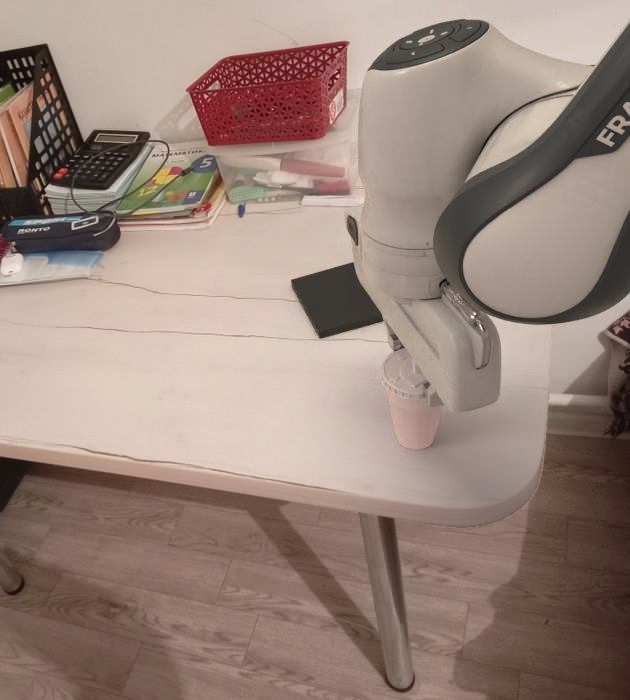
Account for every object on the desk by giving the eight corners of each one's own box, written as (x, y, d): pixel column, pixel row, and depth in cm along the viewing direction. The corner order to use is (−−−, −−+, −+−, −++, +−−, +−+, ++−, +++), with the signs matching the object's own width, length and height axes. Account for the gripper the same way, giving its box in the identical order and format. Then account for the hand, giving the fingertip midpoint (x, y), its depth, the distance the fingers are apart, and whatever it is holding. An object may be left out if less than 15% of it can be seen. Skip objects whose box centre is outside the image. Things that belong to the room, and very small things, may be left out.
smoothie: (378, 455, 63) (374, 356, 54) (385, 409, 67) (383, 309, 58) (447, 465, 60) (455, 362, 51) (450, 415, 64) (459, 312, 55)
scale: (394, 255, 86) (394, 236, 84) (436, 306, 77) (437, 286, 75) (290, 284, 87) (288, 267, 85) (319, 338, 78) (317, 320, 76)
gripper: (538, 314, 41) (512, 446, 50) (404, 183, 56) (403, 301, 65) (444, 340, 41) (435, 466, 50) (336, 203, 57) (344, 317, 66)
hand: (416, 372), depth 58 cm, fingers closed on smoothie, 6 cm apart
